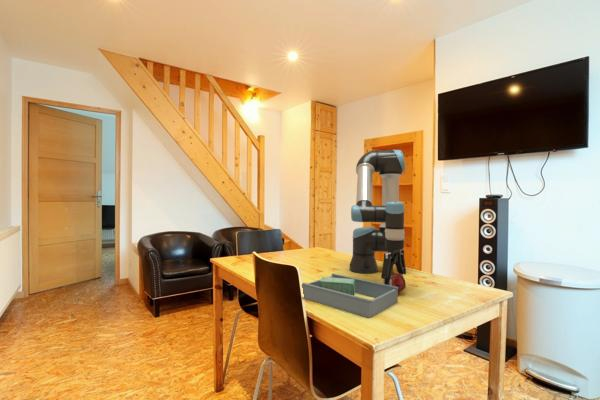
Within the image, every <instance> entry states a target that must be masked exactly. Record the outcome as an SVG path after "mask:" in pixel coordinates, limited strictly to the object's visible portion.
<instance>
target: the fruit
mask: <svg viewBox="0 0 600 400" xmlns="http://www.w3.org/2000/svg"><path fill="white" fill-rule="evenodd" d="M390 279H391V286H395V287H398V294H400V293H401V292H403V291H404V290H406V285H407V284H406V280H405V277H404V275H403V276H402V275H400V274H399V273H398V272H395V271H394V269H393V270H392V274H391V278H390ZM382 284H384V279H383V282H382Z"/></svg>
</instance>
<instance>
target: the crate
mask: <svg viewBox="0 0 600 400" xmlns="http://www.w3.org/2000/svg"><path fill="white" fill-rule="evenodd" d="M329 277H332V278H346V279H354V280H355V294H358V295H363V296H367V297H372V299H370V298H369V299H368V298H365V297H362V296H357V295H350V294H346V293H342V292H338V291H334V290H330V289H327V288H323V287H320V280H321V278H320V279H318V280H315V281H311V282H308V283H306V282H301V283H302V285H301V289H302V288H303V294H304V298H303V299H304V300H305V299H306V300H309V301H312V302H315V303H318V304H320V305H325V306H328V307H331V308H335V309H339V310H341V311H345V312H348V313H352V314H355V315H359V316H362V317H365V318H367V319H370V318H372V317H374V316H376V315H377V314H379V313H381V312H383V311H385V310H386V309H388V308H390V307H391V306H393V305H395V304H397V303H398V301H399V299H398V297H399V293H398V287H395V286H391V285H386V284H383V283H380V282H375V281H371V280H366V279H360V278H356V277H354V276H353V277H352V276H346V275H342V274H338V273H331V275H329Z"/></svg>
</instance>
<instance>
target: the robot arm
mask: <svg viewBox="0 0 600 400" xmlns="http://www.w3.org/2000/svg"><path fill="white" fill-rule="evenodd" d="M404 155H405V154H404V152H403V151H402V150H400V149H385V150H374V149H373V150H370V151H367V152H366V153H365V154H363V155H362V156H360V158H359V159H358V161H357V163H356V166H355V173H356V175H357V179H356V182H357V183H356V199H355V200H356V201H355V205H352V206H351V209H350V217H351V218H350V219H351V221H352V222H355V223H381V224H379V226H378V229H376V227H375V226H363V227H357V228H355V229H354V230H353V231H352V256H351V259H350V263H349V268H348V269H349V271H350V272H353V273H359V274H374V273H377V272H379V267H378V262H377V260H376V256H375V254H376V252H380V253H381V252H383V253H384V254H383V262H382V269H381V277H380V278H381V279H383V280H384V284H386V285H391V279H390V278H391V274H392V270H393V271H394V266H395V268H396V271H397V272H396V273H398V274H400V275H402V276H403V277H404V275H406V274H407V267H406V259H405V250H404V248H405V235H406V233H405V232H406V231H405V204H404V202H402V201H400V194H399V193H400V192H399V191H400V179H401V177H402V176H403V173H405V171H406V164H405V163H406V162H405V157H404ZM375 173H378V174H379V175H378V176H379V177H380V178H381V179H382V180H381V205H373V183H374V182H373V177H374V174H375Z"/></svg>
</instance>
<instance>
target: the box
mask: <svg viewBox="0 0 600 400" xmlns="http://www.w3.org/2000/svg"><path fill="white" fill-rule="evenodd" d="M320 279H321V280H320ZM320 279H319V280H320V287H323V288H327V289H330V290H334V291H338V292H342V293H346V294H350V295H354V296H356V293H355V280H354V279H346V278H332V277H330V276H322V277H321V278H320Z"/></svg>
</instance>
